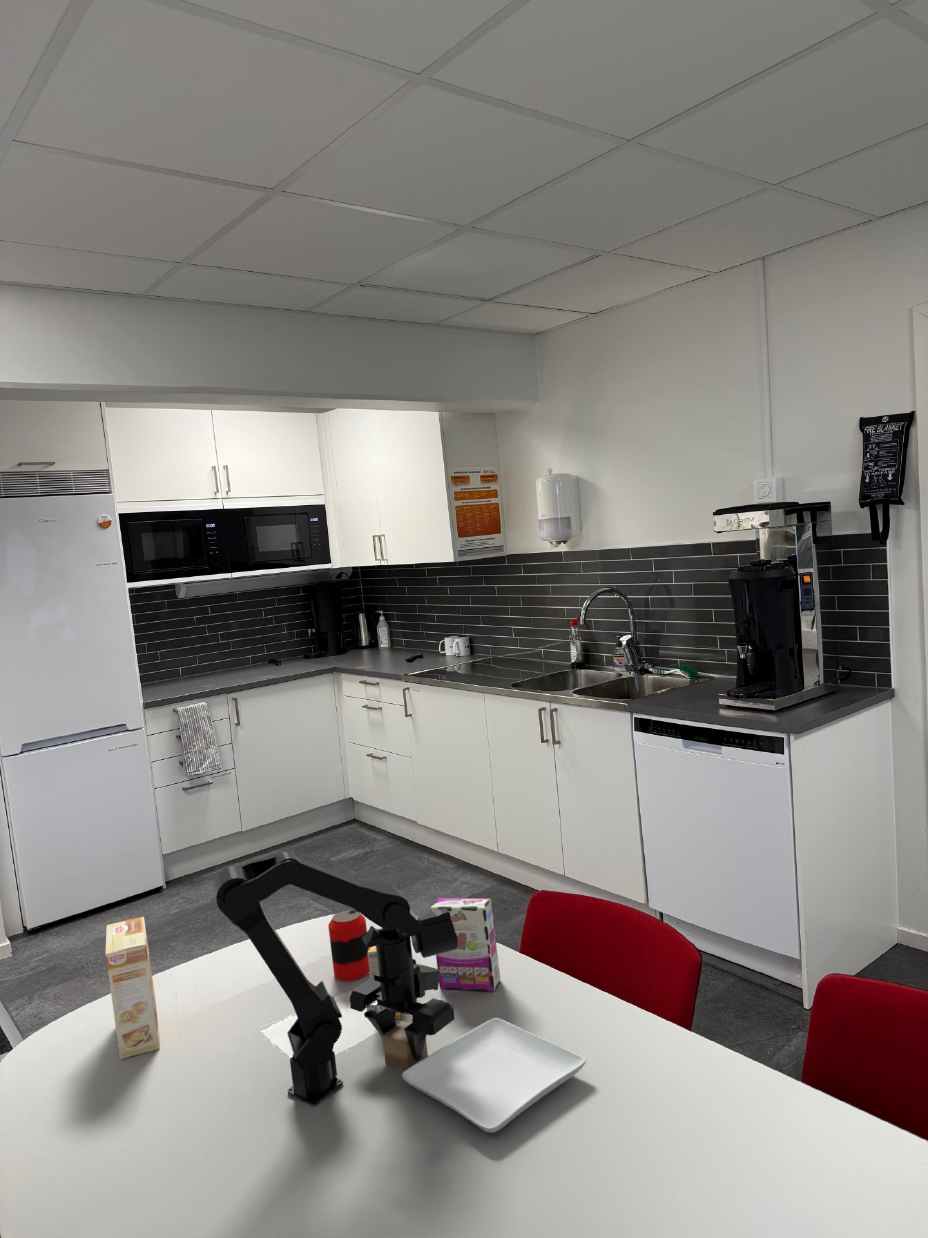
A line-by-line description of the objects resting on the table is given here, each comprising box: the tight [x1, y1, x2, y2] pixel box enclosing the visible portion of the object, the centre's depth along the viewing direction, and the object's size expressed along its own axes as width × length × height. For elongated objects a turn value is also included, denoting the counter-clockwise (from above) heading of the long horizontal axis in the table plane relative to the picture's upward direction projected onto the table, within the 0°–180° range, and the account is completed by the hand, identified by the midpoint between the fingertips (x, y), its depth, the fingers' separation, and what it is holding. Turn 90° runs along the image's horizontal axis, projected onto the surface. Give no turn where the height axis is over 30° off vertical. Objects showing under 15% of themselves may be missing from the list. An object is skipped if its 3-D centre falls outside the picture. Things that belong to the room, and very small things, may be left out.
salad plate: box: [401, 1017, 587, 1133], centre depth 134 cm, size 21×21×3 cm
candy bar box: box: [430, 897, 501, 992], centre depth 166 cm, size 11×5×16 cm, turn 73°
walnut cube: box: [381, 1020, 429, 1073], centre depth 143 cm, size 5×5×5 cm
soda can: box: [327, 909, 370, 982], centre depth 176 cm, size 8×8×12 cm
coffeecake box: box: [105, 916, 161, 1061], centre depth 160 cm, size 15×7×20 cm, turn 22°
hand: (406, 1055), depth 143 cm, fingers closed on walnut cube, 5 cm apart
